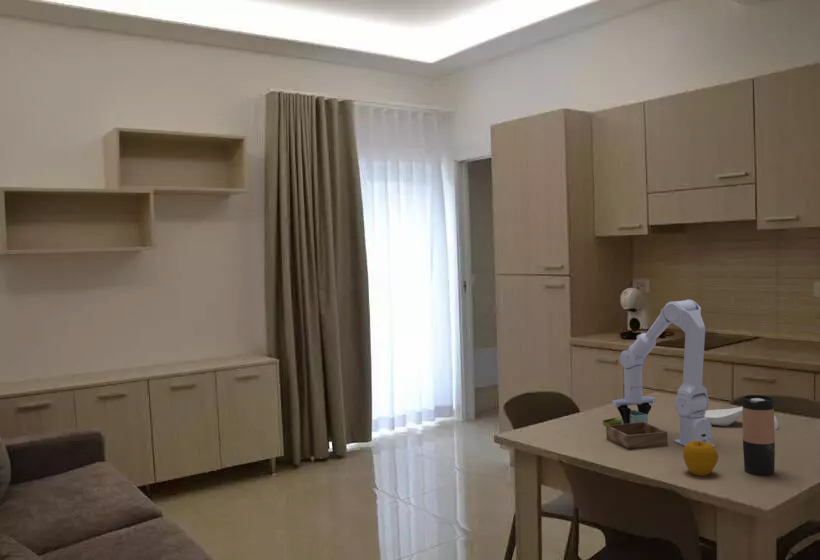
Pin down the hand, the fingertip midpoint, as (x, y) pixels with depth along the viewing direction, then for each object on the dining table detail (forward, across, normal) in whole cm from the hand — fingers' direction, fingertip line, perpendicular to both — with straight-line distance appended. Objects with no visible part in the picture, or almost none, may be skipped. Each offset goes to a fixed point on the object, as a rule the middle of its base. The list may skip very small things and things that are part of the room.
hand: (634, 426), depth 233 cm
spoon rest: (+2, -34, +6) cm, 35 cm away
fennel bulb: (-2, -6, -7) cm, 9 cm away
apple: (+2, +7, +45) cm, 46 cm away
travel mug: (+2, -8, +49) cm, 50 cm away
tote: (+1, 0, 0) cm, 1 cm away
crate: (+1, +7, +13) cm, 15 cm away
